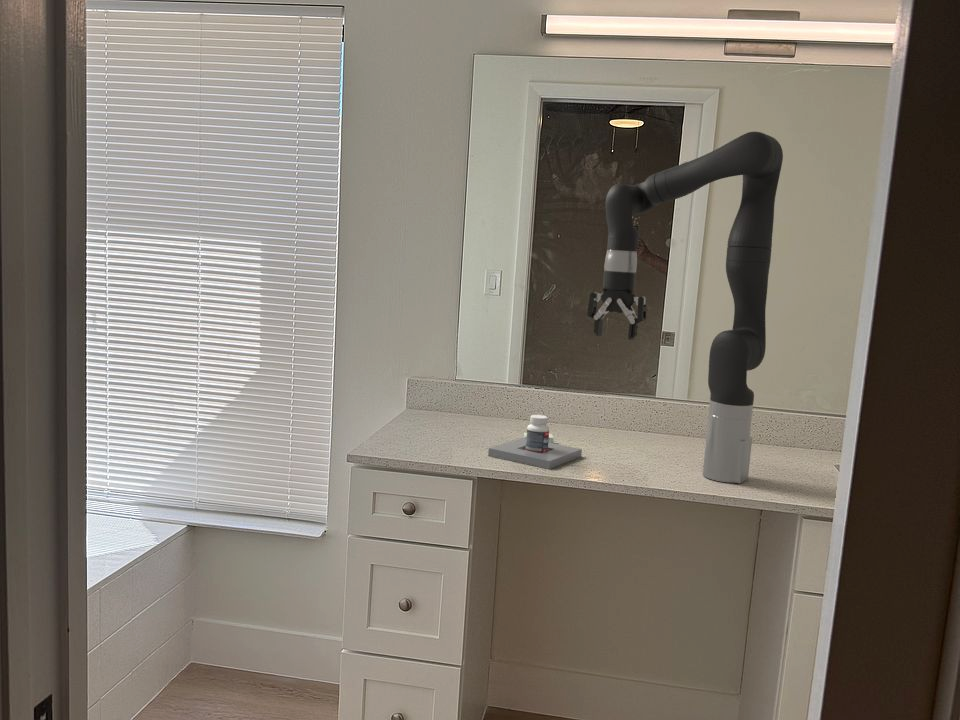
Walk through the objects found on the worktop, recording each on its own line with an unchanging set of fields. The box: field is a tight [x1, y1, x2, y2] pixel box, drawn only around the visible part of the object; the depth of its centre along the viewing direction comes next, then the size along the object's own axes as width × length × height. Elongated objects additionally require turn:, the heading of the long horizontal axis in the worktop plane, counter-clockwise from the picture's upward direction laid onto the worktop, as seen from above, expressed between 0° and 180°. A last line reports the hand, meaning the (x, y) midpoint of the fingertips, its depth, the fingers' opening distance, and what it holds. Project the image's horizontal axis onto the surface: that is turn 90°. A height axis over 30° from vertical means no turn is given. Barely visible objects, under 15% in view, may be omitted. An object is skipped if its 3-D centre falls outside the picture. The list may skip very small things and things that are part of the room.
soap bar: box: [523, 431, 555, 443], centre depth 214 cm, size 7×4×2 cm, turn 92°
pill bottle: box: [526, 414, 550, 454], centre depth 200 cm, size 5×5×9 cm
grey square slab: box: [487, 436, 583, 470], centre depth 201 cm, size 16×16×2 cm
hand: (614, 337), depth 206 cm, fingers open, 8 cm apart
